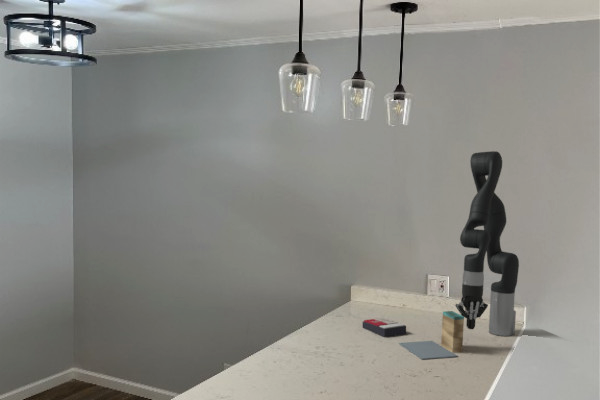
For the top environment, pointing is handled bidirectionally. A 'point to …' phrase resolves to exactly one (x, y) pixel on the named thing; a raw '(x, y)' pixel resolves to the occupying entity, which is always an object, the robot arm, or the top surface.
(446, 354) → the mat
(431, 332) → the top surface
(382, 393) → the top surface
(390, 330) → the calculator
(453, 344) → the block
